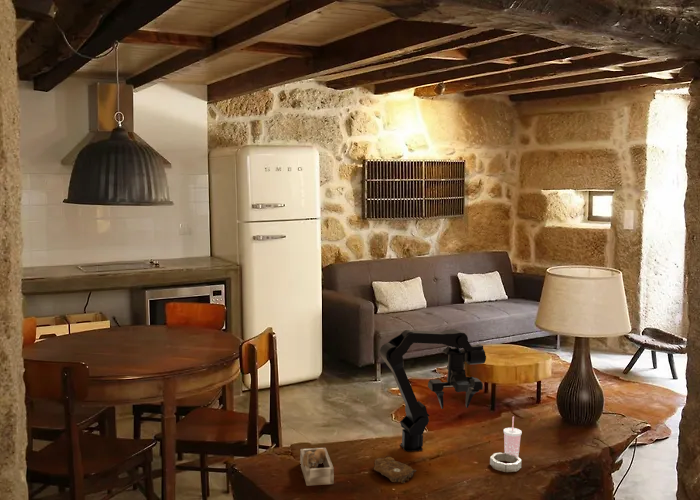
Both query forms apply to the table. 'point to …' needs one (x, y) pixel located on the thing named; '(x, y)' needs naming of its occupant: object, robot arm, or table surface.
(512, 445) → the beverage cup
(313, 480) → the open figurine box
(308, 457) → the lion figurine
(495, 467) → the cup holder ring
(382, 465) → the decorative rock
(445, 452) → the table surface
